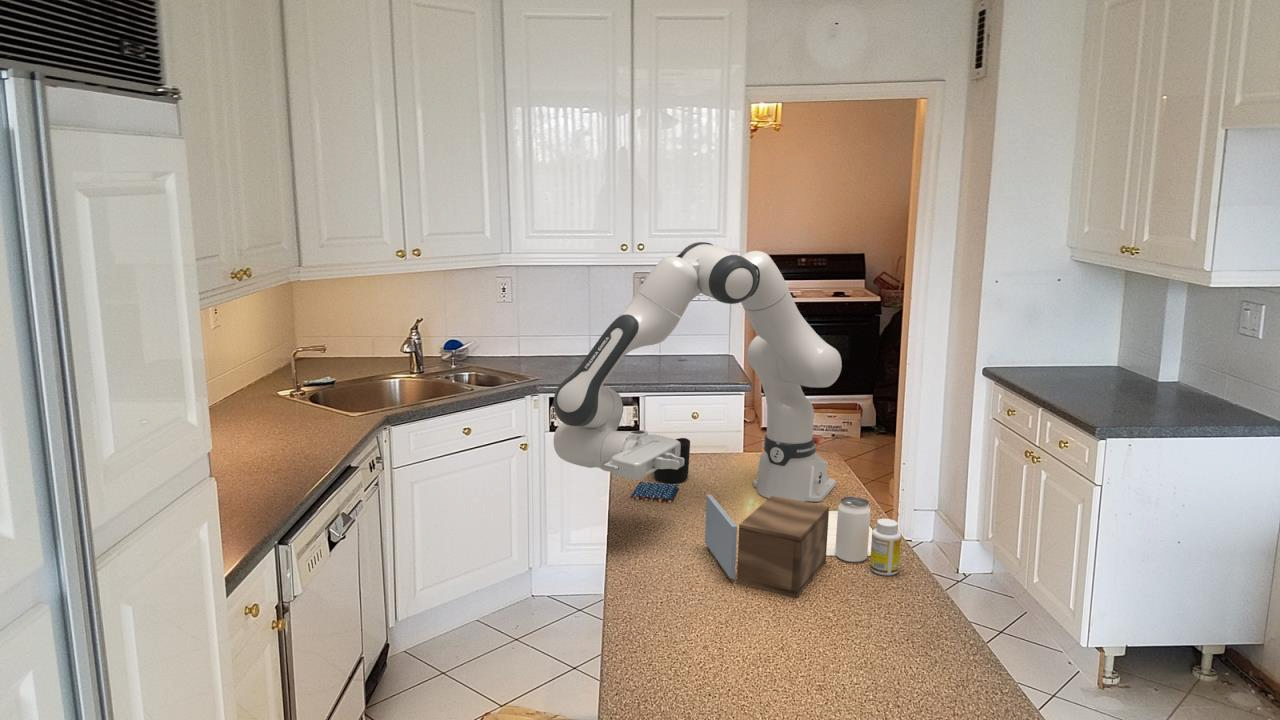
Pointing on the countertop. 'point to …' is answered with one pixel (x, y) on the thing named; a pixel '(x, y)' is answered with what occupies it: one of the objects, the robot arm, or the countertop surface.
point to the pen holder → (672, 474)
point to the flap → (721, 535)
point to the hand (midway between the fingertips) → (681, 463)
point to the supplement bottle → (885, 547)
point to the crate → (782, 545)
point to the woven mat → (655, 492)
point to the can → (852, 529)
